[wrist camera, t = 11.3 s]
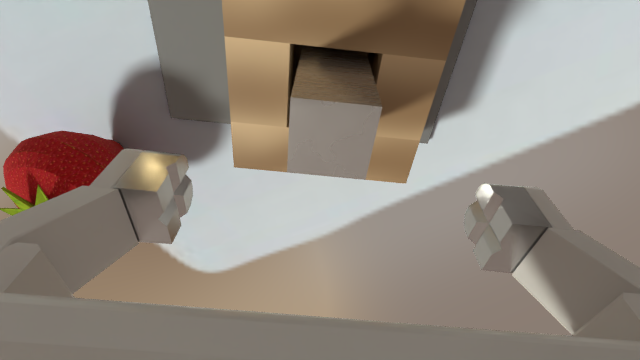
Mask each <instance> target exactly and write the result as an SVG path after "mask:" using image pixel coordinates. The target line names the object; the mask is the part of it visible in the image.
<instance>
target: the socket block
mask: <svg viewBox="0 0 640 360" xmlns="http://www.w3.org/2000/svg"><path fill="white" fill-rule="evenodd" d="M465 1H466V0H222V10H223V23H224V37H225V50H226V64H227V78H228V91H229V105H230V118H231V132H232V145H233V159H234V167H238V168H248V169H259V170H269V171H280V172H287V161H288V139H289V118H290V97H291V93H292V89H293V85H294V81H295V76H296V72H297V68H298V64H299V60H300V56H301V52H302V47H303V45H307V46H316V47H326V48H335V49H344V50H353V51H362V52H366V53H367V57H368V60H369V63H370V67H371V70H372V74H373V77H374V80H375V84H376V87H377V90H378V94H379V97H380V100H381V104H382V111H381V115H380V119H379V124H378V128H377V132H376V137H375V141H374V145H373V150H372V154H371V158H370V163H369V167H368V171H367V176H366V180H375V181H385V182H396V183H406V181H407V178H408V175H409V172H410V169H411V166H412V163H413V160H414V157H415V154H416V151H417V148H418V145H419V142H420V139H421V136H422V133H423V130H424V126H425V123H426V120H427V117H428V114H429V111H430V108H431V105H432V102H433V99H434V96H435V93H436V90H437V87H438V84H439V81H440V78H441V75H442V72H443V68H444V65H445V62H446V59H447V56H448V53H449V50H450V47H451V44H452V41H453V38H454V35H455V32H456V29H457V26H458V23H459V20H460V17H461V14H462V11H463V7H464V4H465Z"/></svg>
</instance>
